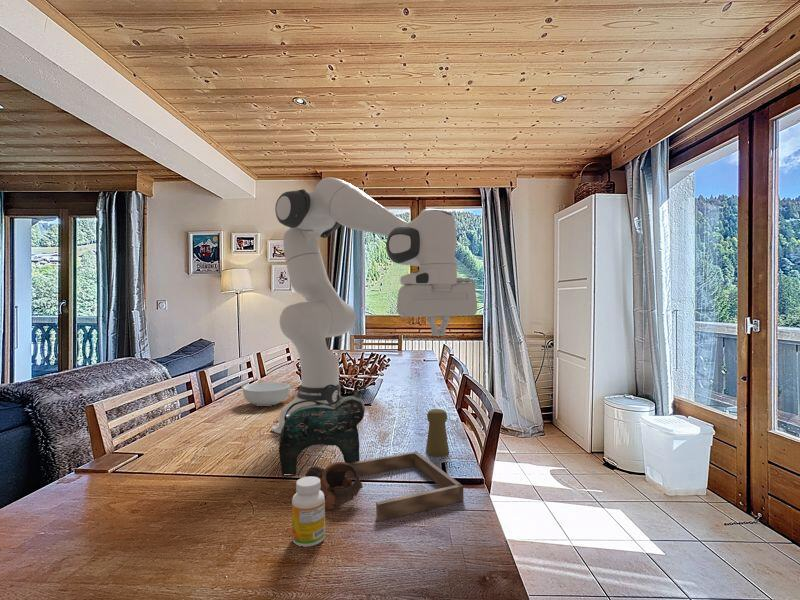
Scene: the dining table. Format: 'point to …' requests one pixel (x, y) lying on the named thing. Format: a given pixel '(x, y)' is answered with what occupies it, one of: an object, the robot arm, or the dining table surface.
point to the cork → (437, 433)
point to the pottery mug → (336, 483)
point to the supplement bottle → (308, 512)
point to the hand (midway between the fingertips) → (438, 335)
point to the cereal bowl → (266, 393)
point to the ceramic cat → (321, 429)
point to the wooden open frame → (415, 502)
